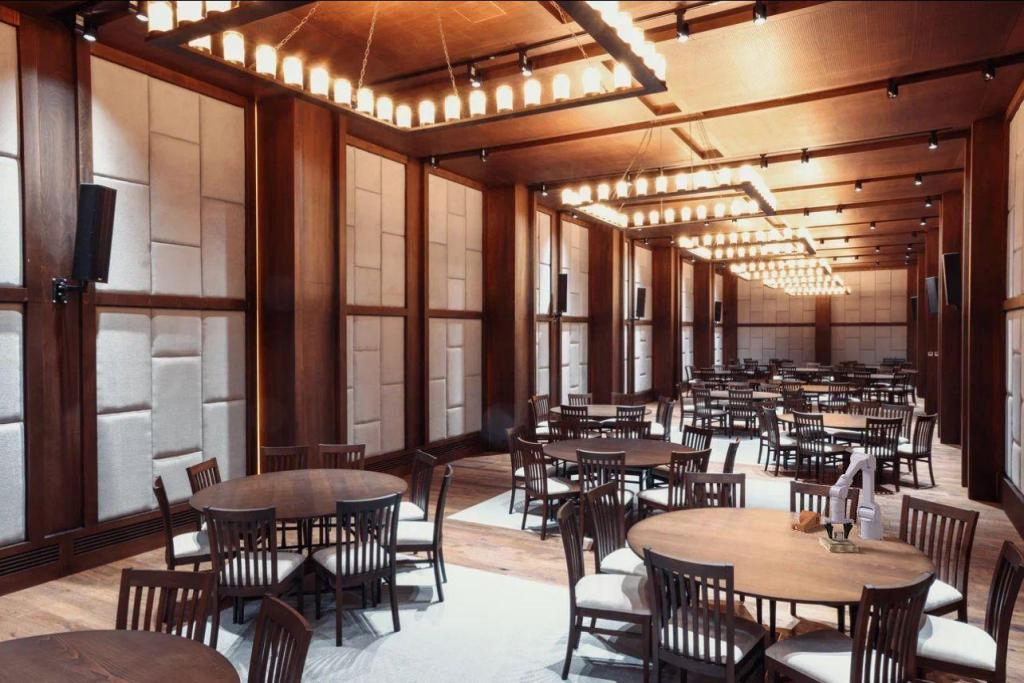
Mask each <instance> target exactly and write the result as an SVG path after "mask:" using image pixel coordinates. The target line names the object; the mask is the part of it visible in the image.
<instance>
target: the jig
mask: <svg viewBox="0 0 1024 683" xmlns="http://www.w3.org/2000/svg"><path fill="white" fill-rule="evenodd" d="M818 541H819V542H818V544H819V543H820V544H819V545H821V546H822V547H823V546H824V547H825V548H826V551H828V552H829V553H842V552H854V553H853V554H859V546H858V544H856V543H854V542H853V541H852V540H850V539H849V538H848V539H845V538H844V537H843V542H834V537H832V539H829V537H823V536H822V537H820V536H819V537H818ZM824 547H823V548H824ZM825 548H824V549H825Z"/></svg>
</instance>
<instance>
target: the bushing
mask: <svg viewBox="0 0 1024 683" xmlns="http://www.w3.org/2000/svg"><path fill="white" fill-rule="evenodd" d="M833 538H834V542H843V538H844V531H841V530H833Z"/></svg>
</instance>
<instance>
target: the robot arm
mask: <svg viewBox="0 0 1024 683" xmlns="http://www.w3.org/2000/svg"><path fill="white" fill-rule="evenodd" d="M849 459H850V464H849V466H848V467H847V470H845V474H841V475H840V476H839V478H838V479H837V481H836V483H835V484H833V485H832V486H830V488H829V491H828V495H829V496H830V501H831V518H826V519H822V524H823V526H824V527H825V530H826V533H827V536H828V537H829V539H832V538H833V533H834V526H833V525H842V526H843V538H845V539H849V535H850V533H851V530H852V528H854V525H855V520H854V519H852V518H846V517H845V516H846V514H845V512H846V510H845V509H846V507H845V505H846V498H847V497H848V493H849V488H850V487H851V485H852V483H853V481H854V480H853V478H854V476H855V475H856V474H857V472H858V471H860V469H861V471H862V501H860V502H859V503H858V504H857V505H858V506H857V508H856V509H857V510H856V515H857V517H858V518H859V520H860V534H859V533H858V534H857V535H858V536H859V537H860V538H862V539H863V540H869V539H878V541H884V526H883V522H882V521H881V518H882V512H881V506H880V505H879V504H878V503H877V502H876V501H875V470H876V469H877V468H876V467H877V458H876V456H875V455H874V454H872V453H863V452H857V451H853V452H852V454H851V455H850V458H849ZM880 539H882V540H880Z"/></svg>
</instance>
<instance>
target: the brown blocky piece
mask: <svg viewBox="0 0 1024 683" xmlns="http://www.w3.org/2000/svg"><path fill="white" fill-rule="evenodd" d="M798 521H799V523H792V524H791V526H790V527H791V528H790V529H791V530H792V529H793V530H792V531H794V530H797V531H796V532H798V531H801V532H800V533H803V532H804V533H806V532H805V531H807V530H809V531H811V530H813V529H812V528H814V529H816V528H818V527H819V526H820V525H821V521H822V519H821V514H820V513H819V512H816V511H811V510H810V511H809V510H805V509H802V510H801V511H800V513H799V520H798ZM817 526H818V527H817ZM815 527H816V528H815ZM810 529H811V530H810ZM807 532H808V531H807Z"/></svg>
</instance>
